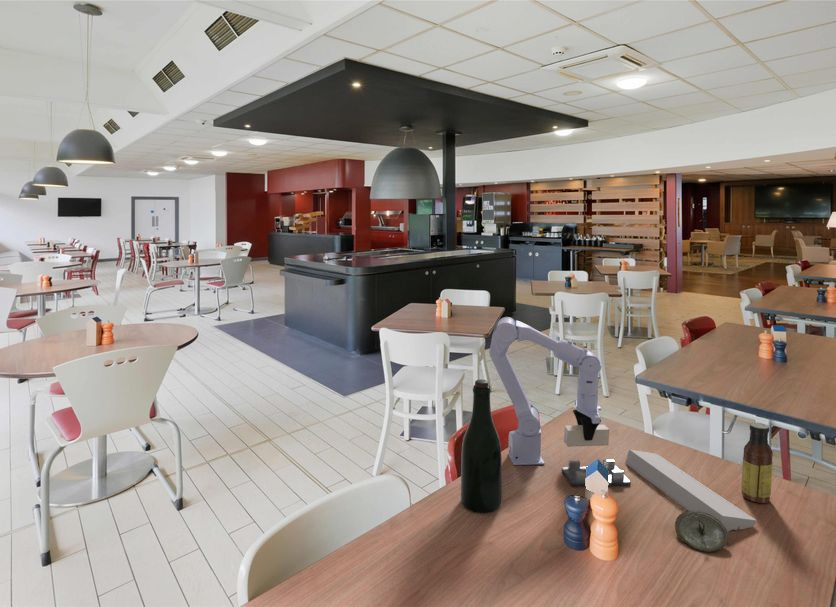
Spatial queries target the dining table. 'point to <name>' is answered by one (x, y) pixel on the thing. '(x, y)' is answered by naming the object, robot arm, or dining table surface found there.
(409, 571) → the dining table surface
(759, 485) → the sauce bottle
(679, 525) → the lid
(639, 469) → the long grey wedge ramp
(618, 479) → the rack
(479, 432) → the dark green wine bottle
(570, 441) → the cream rectangular block
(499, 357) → the robot arm
